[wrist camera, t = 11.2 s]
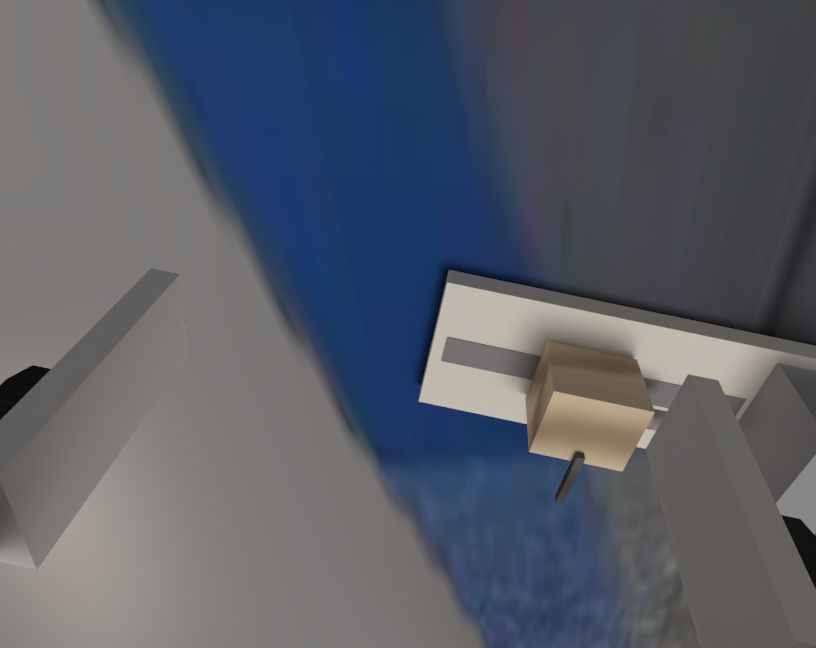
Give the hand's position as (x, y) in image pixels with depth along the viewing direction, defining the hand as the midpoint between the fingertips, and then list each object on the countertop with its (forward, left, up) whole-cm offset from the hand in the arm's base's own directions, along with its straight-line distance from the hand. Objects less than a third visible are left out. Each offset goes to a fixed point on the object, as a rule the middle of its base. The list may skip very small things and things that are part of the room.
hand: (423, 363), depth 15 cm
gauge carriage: (+20, +15, -25) cm, 36 cm away
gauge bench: (+18, +16, -28) cm, 37 cm away
